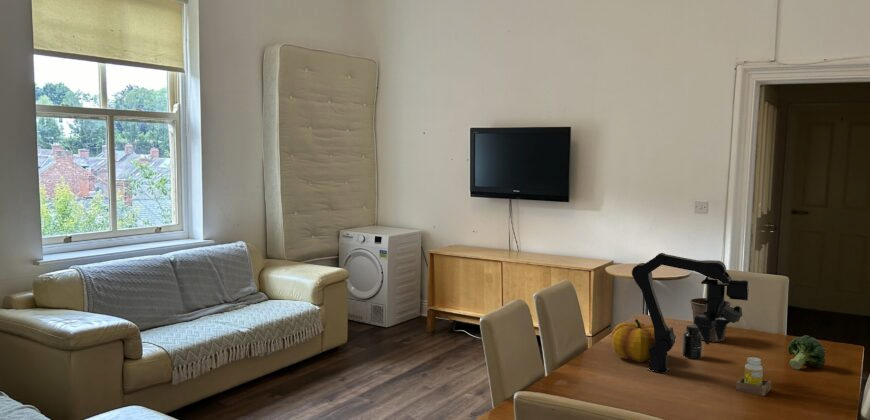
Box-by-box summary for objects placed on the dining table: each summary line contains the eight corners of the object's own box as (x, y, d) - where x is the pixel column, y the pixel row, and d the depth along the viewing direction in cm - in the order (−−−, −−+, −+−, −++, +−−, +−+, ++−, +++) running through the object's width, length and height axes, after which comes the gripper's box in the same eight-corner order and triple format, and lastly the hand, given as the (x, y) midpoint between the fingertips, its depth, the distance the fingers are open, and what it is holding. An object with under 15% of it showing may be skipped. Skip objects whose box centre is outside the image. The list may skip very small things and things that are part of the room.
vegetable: (771, 357, 248) (792, 335, 255) (798, 385, 244) (819, 362, 251) (791, 346, 238) (812, 324, 245) (819, 375, 234) (840, 351, 241)
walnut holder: (764, 396, 214) (764, 388, 213) (736, 390, 219) (736, 382, 219) (770, 389, 220) (771, 381, 220) (743, 383, 226) (743, 375, 226)
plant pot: (680, 335, 288) (681, 298, 287) (711, 332, 293) (712, 296, 292) (706, 345, 273) (707, 306, 272) (738, 342, 278) (739, 304, 276)
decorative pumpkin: (611, 364, 246) (612, 324, 245) (610, 348, 268) (611, 311, 267) (668, 368, 242) (670, 328, 240) (662, 351, 263) (664, 314, 262)
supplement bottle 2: (763, 390, 216) (765, 361, 216) (746, 389, 218) (747, 360, 217) (759, 385, 222) (761, 357, 221) (742, 383, 223) (743, 355, 222)
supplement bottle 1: (698, 360, 252) (699, 329, 251) (680, 357, 256) (681, 326, 255) (703, 356, 257) (704, 326, 256) (685, 353, 261) (686, 323, 260)
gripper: (726, 305, 217) (724, 352, 218) (750, 297, 229) (748, 341, 230) (693, 299, 225) (692, 344, 226) (718, 292, 237) (717, 335, 239)
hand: (713, 341), depth 230 cm, fingers open, 9 cm apart
